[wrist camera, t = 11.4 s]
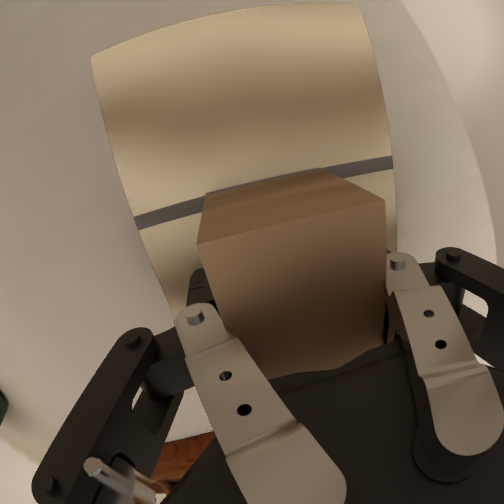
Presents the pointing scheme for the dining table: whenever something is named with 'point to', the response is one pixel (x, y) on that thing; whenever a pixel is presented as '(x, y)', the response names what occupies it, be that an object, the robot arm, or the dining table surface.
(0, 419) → the coffee jar
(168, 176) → the board
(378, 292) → the block
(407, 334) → the robot arm
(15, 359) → the dining table surface
